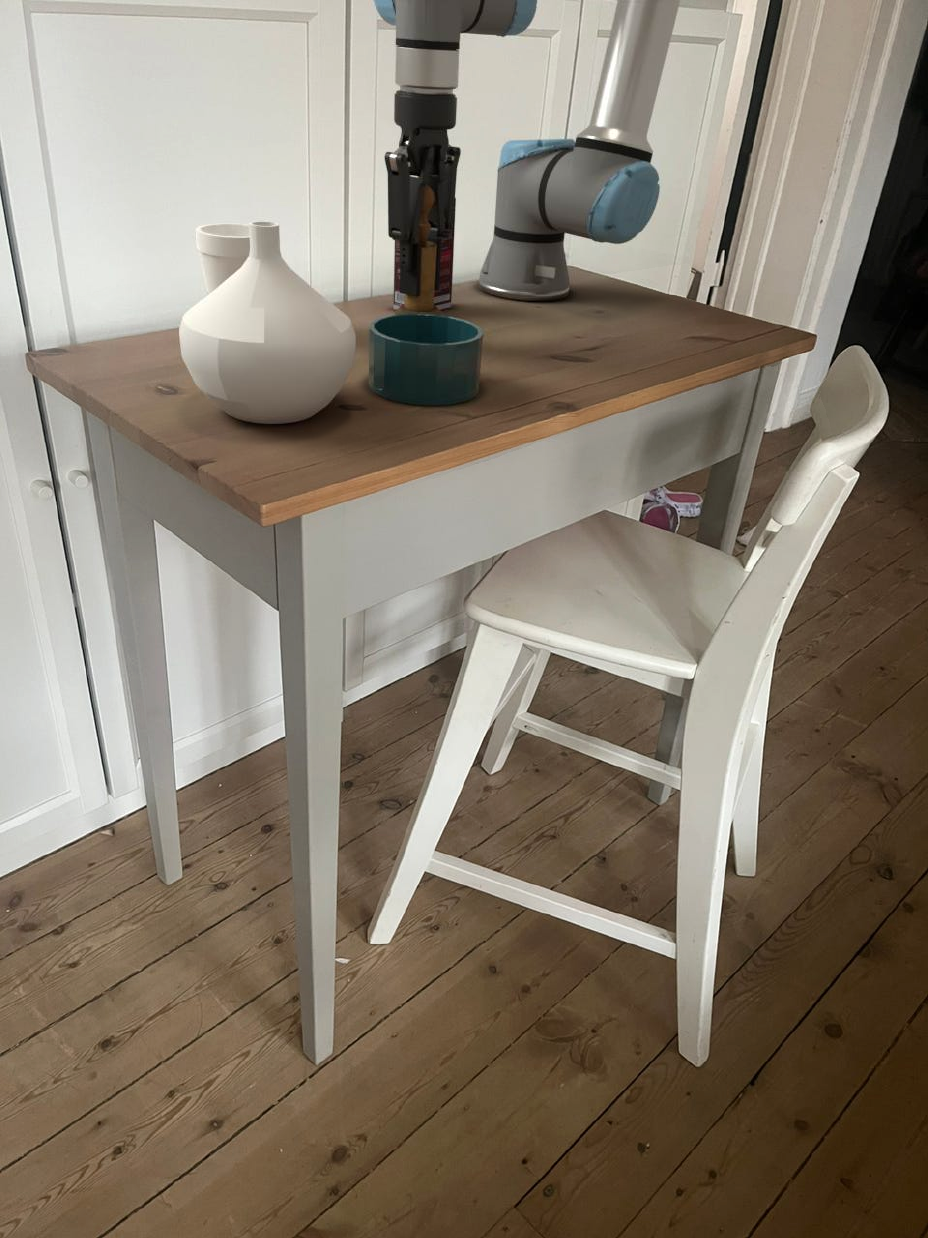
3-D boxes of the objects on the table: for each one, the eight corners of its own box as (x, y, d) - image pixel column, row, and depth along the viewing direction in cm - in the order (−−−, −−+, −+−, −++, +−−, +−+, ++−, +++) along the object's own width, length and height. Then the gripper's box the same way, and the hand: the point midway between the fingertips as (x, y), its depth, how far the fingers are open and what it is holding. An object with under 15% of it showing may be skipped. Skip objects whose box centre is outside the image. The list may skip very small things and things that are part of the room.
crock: (410, 362, 122) (412, 307, 118) (498, 386, 116) (503, 328, 112) (346, 387, 112) (346, 327, 108) (438, 414, 106) (442, 352, 103)
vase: (158, 395, 105) (138, 211, 95) (303, 373, 115) (300, 204, 105) (231, 452, 93) (218, 248, 83) (386, 421, 103) (392, 236, 93)
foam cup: (190, 336, 125) (182, 231, 118) (222, 319, 133) (215, 220, 126) (257, 345, 123) (252, 240, 116) (285, 328, 131) (282, 228, 124)
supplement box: (429, 301, 149) (434, 192, 141) (452, 308, 147) (458, 197, 138) (390, 309, 143) (393, 196, 135) (413, 316, 141) (418, 201, 132)
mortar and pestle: (436, 339, 125) (442, 191, 115) (388, 333, 126) (390, 186, 116) (447, 325, 131) (453, 184, 121) (401, 320, 132) (404, 179, 122)
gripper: (439, 85, 121) (431, 275, 133) (357, 88, 108) (357, 297, 121) (489, 91, 118) (477, 285, 130) (410, 94, 105) (405, 308, 118)
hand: (419, 290), depth 126 cm, fingers closed on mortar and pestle, 4 cm apart
